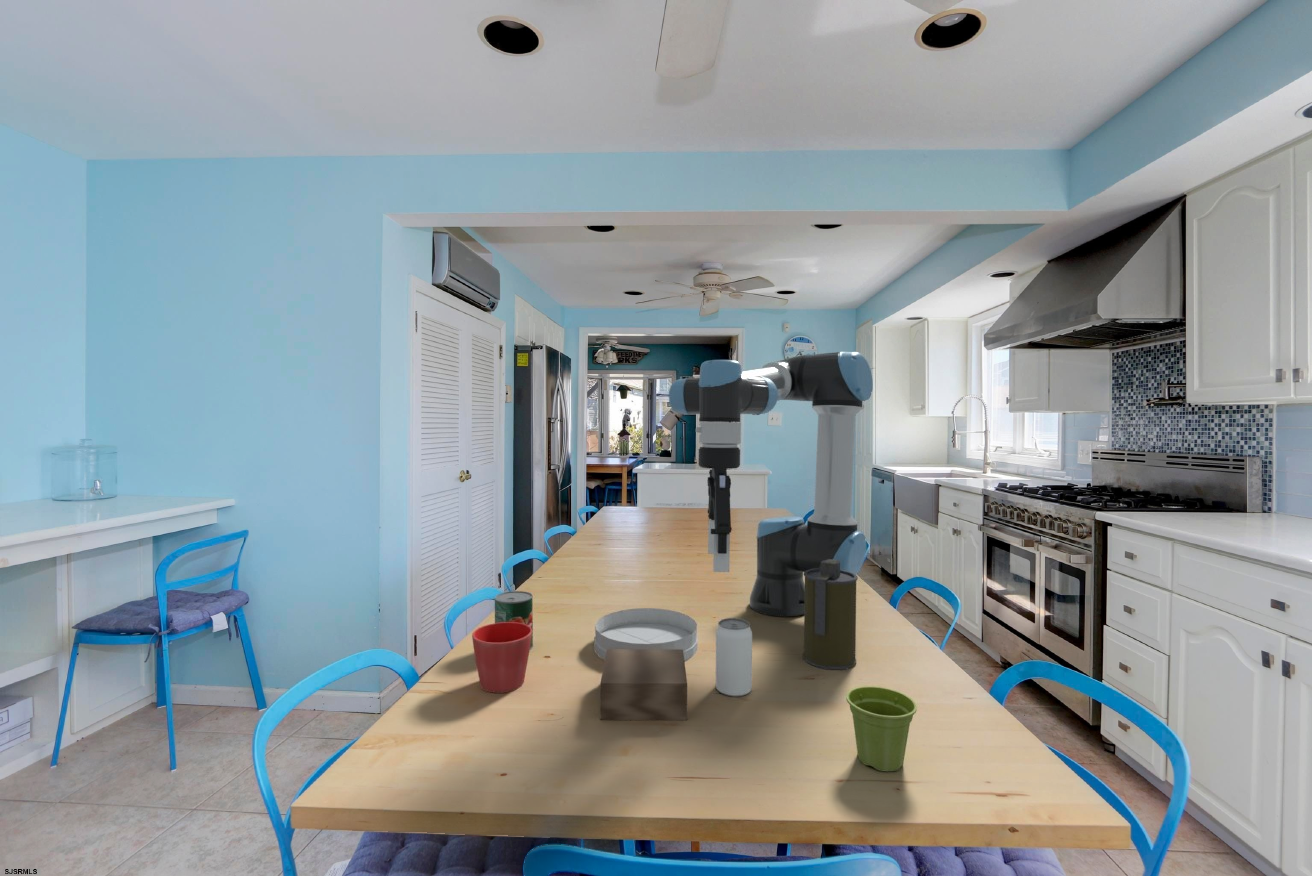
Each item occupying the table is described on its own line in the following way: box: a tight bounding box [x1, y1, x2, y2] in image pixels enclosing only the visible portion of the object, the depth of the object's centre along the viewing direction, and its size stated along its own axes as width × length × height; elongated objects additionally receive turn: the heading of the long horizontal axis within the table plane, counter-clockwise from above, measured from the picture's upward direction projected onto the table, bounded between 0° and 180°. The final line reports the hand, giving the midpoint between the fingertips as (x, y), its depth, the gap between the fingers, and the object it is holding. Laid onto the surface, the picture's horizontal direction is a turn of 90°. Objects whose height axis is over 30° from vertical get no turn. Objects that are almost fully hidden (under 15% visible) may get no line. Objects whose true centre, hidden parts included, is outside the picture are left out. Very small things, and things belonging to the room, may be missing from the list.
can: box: [715, 617, 753, 698], centre depth 107 cm, size 6×6×12 cm
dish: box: [593, 607, 699, 662], centre depth 127 cm, size 22×22×5 cm
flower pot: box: [471, 622, 532, 694], centre depth 108 cm, size 11×11×10 cm
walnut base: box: [599, 649, 688, 721], centre depth 103 cm, size 14×14×6 cm
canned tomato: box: [494, 590, 534, 650], centre depth 125 cm, size 8×8×11 cm
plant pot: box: [845, 685, 918, 772], centre depth 85 cm, size 9×9×9 cm
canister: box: [802, 559, 858, 671], centre depth 120 cm, size 11×10×20 cm
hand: (718, 562), depth 108 cm, fingers open, 13 cm apart
